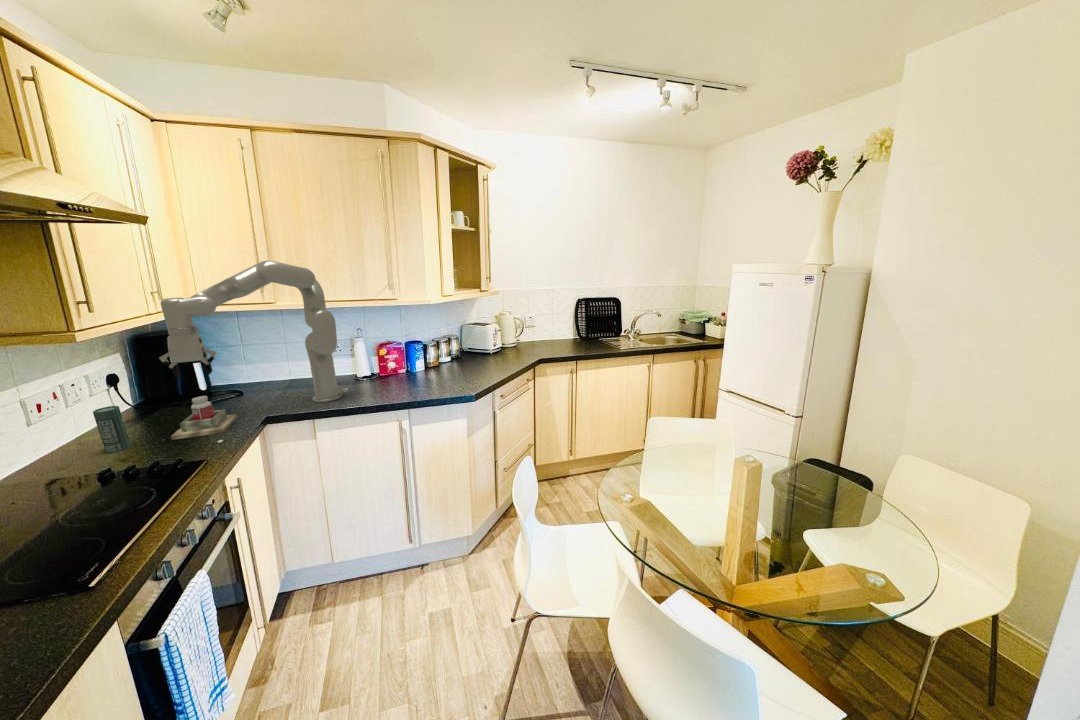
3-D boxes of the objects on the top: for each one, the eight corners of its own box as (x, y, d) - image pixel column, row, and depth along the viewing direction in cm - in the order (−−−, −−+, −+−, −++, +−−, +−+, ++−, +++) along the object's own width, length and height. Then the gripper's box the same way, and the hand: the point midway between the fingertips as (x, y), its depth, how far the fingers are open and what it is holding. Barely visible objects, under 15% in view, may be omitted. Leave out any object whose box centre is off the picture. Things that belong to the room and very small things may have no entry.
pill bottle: (218, 420, 164) (212, 394, 162) (212, 425, 159) (206, 399, 156) (199, 422, 162) (193, 396, 160) (193, 428, 157) (186, 401, 154)
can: (133, 443, 149) (122, 404, 145) (124, 450, 143) (112, 410, 140) (112, 446, 147) (99, 407, 143) (102, 453, 141) (88, 413, 137)
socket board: (237, 417, 171) (234, 406, 169) (223, 432, 156) (220, 420, 155) (190, 423, 166) (187, 412, 164) (171, 439, 151) (168, 427, 150)
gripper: (213, 327, 157) (224, 370, 162) (158, 332, 152) (170, 376, 156) (206, 331, 150) (217, 375, 155) (147, 335, 145) (160, 381, 149)
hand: (193, 375), depth 155 cm, fingers open, 9 cm apart
